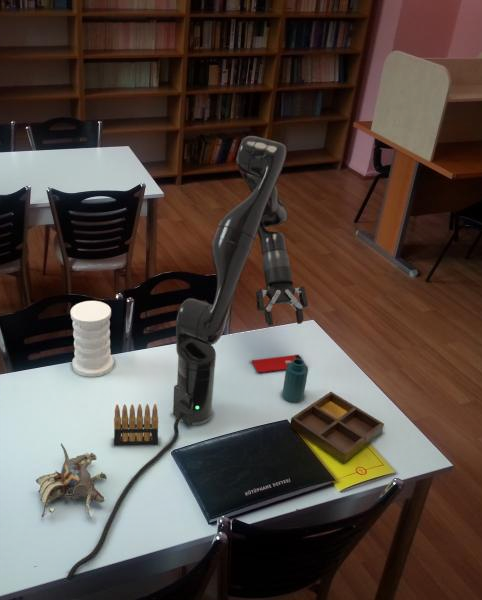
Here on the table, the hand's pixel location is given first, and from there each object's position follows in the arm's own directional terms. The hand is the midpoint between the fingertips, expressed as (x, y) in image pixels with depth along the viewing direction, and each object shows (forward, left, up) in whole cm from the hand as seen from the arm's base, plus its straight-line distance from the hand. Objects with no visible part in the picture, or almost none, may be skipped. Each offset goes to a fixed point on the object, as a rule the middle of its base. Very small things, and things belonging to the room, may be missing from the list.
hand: (285, 324), depth 170 cm
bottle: (-6, -10, -16) cm, 20 cm away
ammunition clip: (-50, +3, -16) cm, 52 cm away
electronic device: (+2, +2, -16) cm, 16 cm away
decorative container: (-40, +36, -16) cm, 56 cm away
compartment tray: (-8, -26, -16) cm, 32 cm away
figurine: (-71, 0, -16) cm, 73 cm away
